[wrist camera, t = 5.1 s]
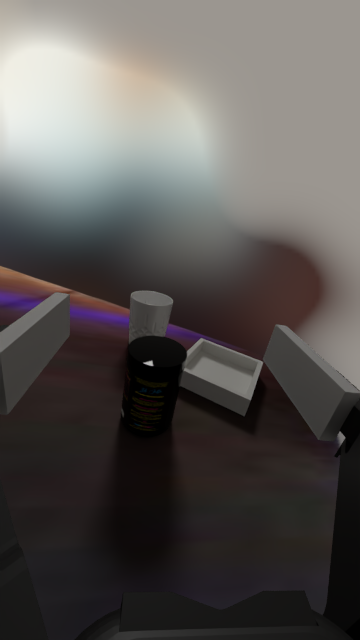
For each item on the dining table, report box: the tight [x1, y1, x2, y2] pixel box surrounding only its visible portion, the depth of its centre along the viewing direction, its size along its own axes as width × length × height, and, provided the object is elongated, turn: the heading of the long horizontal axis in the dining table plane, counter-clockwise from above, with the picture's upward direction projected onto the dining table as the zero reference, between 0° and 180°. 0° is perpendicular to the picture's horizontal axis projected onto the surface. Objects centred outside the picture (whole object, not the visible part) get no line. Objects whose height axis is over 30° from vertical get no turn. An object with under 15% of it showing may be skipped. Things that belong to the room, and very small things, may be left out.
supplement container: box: [121, 336, 187, 437], centre depth 29 cm, size 7×7×10 cm
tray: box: [180, 338, 263, 416], centre depth 42 cm, size 13×13×3 cm
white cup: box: [129, 291, 173, 344], centre depth 47 cm, size 8×8×10 cm
